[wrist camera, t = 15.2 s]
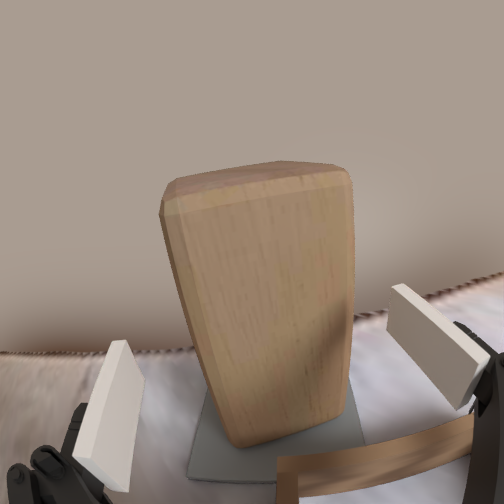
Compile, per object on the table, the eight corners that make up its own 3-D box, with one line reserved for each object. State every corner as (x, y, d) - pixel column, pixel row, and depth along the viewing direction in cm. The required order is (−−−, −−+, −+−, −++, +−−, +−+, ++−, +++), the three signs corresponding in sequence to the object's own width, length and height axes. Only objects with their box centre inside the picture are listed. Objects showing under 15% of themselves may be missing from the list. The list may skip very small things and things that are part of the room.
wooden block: (304, 353, 30) (287, 159, 23) (347, 417, 20) (358, 163, 13) (214, 378, 28) (164, 180, 21) (233, 455, 19) (152, 196, 12)
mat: (188, 479, 17) (186, 476, 17) (214, 369, 30) (213, 365, 30) (368, 471, 15) (370, 468, 15) (342, 359, 28) (342, 355, 28)
